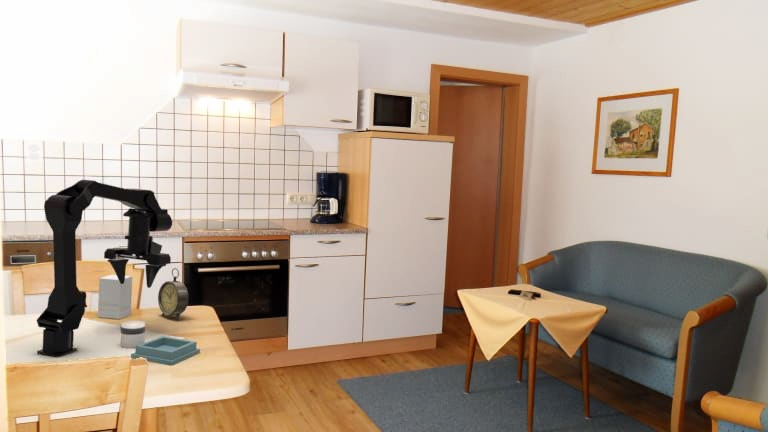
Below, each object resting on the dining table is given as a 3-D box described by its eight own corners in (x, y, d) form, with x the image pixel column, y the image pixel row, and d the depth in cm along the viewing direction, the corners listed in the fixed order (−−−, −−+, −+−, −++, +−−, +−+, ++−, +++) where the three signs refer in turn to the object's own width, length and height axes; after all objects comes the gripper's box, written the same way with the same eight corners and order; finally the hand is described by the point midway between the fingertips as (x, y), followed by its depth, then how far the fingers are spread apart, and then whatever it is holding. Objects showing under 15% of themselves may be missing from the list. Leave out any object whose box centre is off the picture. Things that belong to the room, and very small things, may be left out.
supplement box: (131, 314, 188) (133, 276, 188) (119, 319, 181) (121, 279, 180) (110, 312, 189) (111, 274, 188) (96, 317, 182) (98, 277, 181)
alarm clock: (156, 315, 189) (158, 266, 188) (170, 313, 194) (173, 265, 193) (175, 322, 183) (178, 271, 182) (190, 319, 187) (193, 270, 186)
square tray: (171, 365, 143) (172, 353, 143) (130, 357, 147) (131, 346, 146) (199, 352, 155) (200, 341, 155) (161, 345, 158) (162, 335, 158)
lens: (134, 349, 153) (135, 327, 153) (114, 346, 155) (115, 324, 155) (149, 343, 159) (150, 322, 159) (130, 340, 161) (131, 319, 161)
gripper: (183, 234, 173) (180, 285, 174) (130, 228, 178) (127, 278, 179) (160, 236, 163) (156, 291, 163) (104, 229, 168) (101, 283, 168)
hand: (135, 285), depth 169 cm, fingers open, 9 cm apart
